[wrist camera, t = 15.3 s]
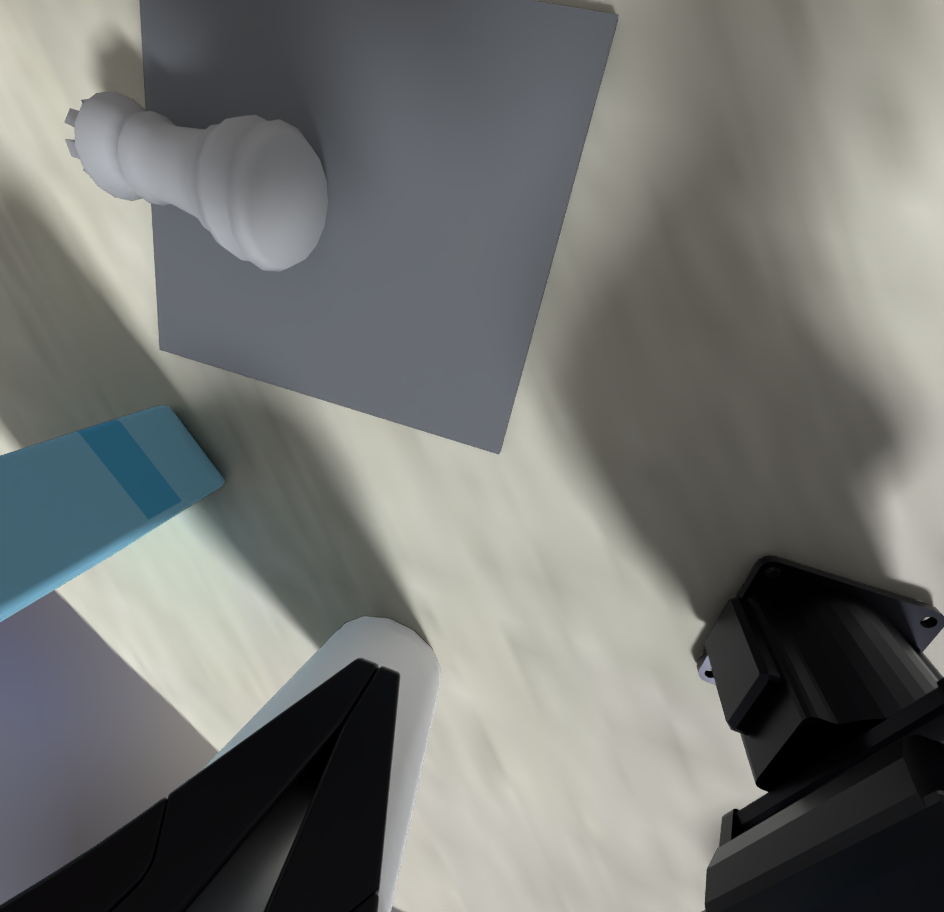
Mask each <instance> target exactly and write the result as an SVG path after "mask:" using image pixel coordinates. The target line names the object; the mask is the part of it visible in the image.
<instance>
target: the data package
mask: <svg viewBox="0 0 944 912" xmlns="http://www.w3.org/2000/svg"><path fill="white" fill-rule="evenodd" d="M223 484H224V479H223V477H222V476H221V474H220V473H219V472H218V470H217V469H216V468H215V466H214V465H213V464H212V462H211V461H210V460H209V458H208V457H207V456H206V454H205V453H204V452H203V450H202V449H201V448H200V446H199V445H198V444H197V442H196V441H195V440H194V438H193V437H192V436H191V434H190V433H189V432H188V430H187V429H186V428H185V426H184V425H183V424H182V422H181V421H180V420H179V418H178V417H177V416H176V414H175V413H174V412H173V410H172V409H171V408H170V407H168V406H156V407H152V408H149V409H146V410H143V411H139V412H136V413H133V414H130V415H127V416H124V417H121V418H117V419H114V420H111V421H108V422H105V423H102V424H99V425H95V426H92V427H89V428H86V429H83V430H80V431H76V432H73V433H70V434H67V435H64V436H61V437H58V438H54V439H51V440H48V441H45V442H42V443H39V444H36V445H32V446H29V447H26V448H23V449H20V450H17V451H13V452H10V453H7V454H4V455H1V456H0V622H1V621H3V620H4V619H6V618H8V617H9V616H11V615H13V614H14V613H16V612H18V611H19V610H21V609H23V608H25V607H26V606H28V605H30V604H31V603H33V602H35V601H36V600H38V599H40V598H41V597H43V596H45V595H46V594H48V593H50V592H51V591H53V590H55V589H56V588H58V587H60V586H61V585H63V584H65V583H67V582H68V581H70V580H72V579H73V578H75V577H77V576H78V575H80V574H82V573H83V572H85V571H87V570H88V569H90V568H92V567H93V566H95V565H97V564H98V563H100V562H102V561H103V560H105V559H107V558H108V557H110V556H112V555H113V554H115V553H116V552H118V551H120V550H121V549H123V548H124V547H126V546H128V545H129V544H131V543H132V542H134V541H136V540H137V539H139V538H140V537H142V536H144V535H145V534H147V533H148V532H150V531H152V530H153V529H155V528H156V527H158V526H160V525H161V524H163V523H164V522H166V521H167V520H169V519H171V518H172V517H174V516H175V515H177V514H179V513H180V512H182V511H183V510H185V509H187V508H188V507H190V506H191V505H193V504H195V503H196V502H198V501H199V500H201V499H203V498H204V497H206V496H207V495H209V494H210V493H212V492H214V491H215V490H217V489H218V488H220V487H221V486H223Z"/></svg>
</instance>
